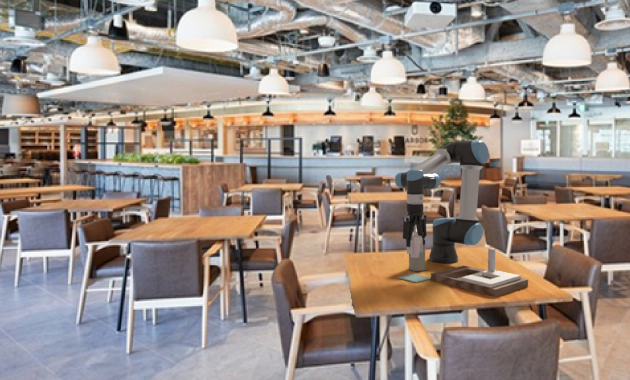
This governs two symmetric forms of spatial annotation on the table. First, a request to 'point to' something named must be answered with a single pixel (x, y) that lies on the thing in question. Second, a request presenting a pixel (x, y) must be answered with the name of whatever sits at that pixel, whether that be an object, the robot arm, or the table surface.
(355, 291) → the table surface
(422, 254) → the travel mug
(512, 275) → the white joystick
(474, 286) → the brown tray
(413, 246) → the smoothie
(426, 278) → the mat
